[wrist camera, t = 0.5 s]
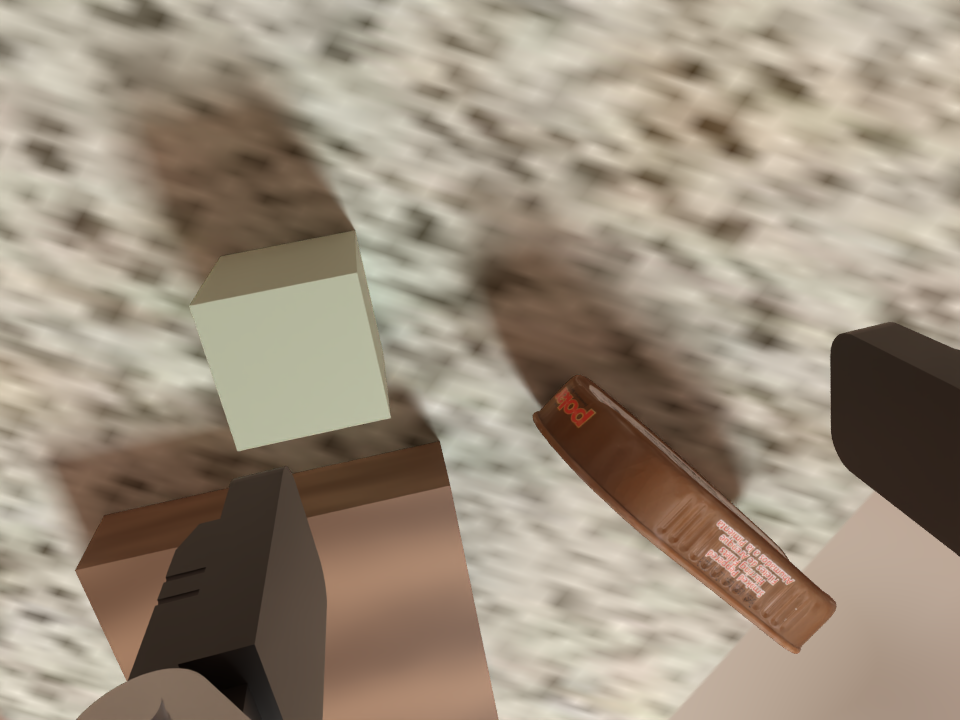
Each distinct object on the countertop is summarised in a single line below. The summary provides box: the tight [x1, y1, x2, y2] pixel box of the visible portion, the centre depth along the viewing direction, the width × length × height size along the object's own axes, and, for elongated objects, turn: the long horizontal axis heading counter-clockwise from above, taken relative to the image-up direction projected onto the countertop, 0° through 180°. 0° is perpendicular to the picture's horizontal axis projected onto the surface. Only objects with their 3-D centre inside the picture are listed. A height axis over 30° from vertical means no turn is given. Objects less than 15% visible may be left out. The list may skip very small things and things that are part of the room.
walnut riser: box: [75, 441, 498, 720], centre depth 33 cm, size 14×14×4 cm
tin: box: [533, 375, 836, 654], centre depth 30 cm, size 15×3×8 cm, turn 47°
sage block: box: [189, 230, 391, 451], centre depth 26 cm, size 5×5×6 cm
